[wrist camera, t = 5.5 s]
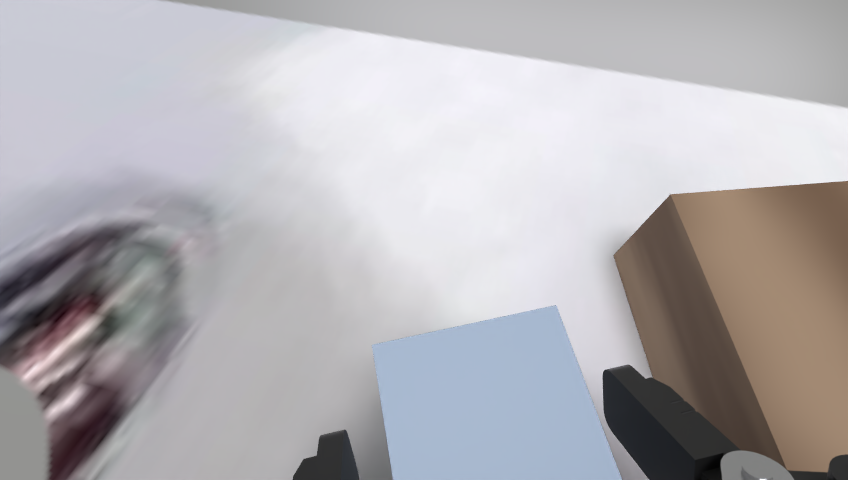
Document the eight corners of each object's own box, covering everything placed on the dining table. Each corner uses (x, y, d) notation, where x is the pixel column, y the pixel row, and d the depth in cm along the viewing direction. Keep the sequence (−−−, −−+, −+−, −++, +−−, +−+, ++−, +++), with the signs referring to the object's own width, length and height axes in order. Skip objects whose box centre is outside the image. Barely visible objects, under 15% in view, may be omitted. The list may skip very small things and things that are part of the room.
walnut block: (699, 531, 16) (829, 569, 11) (611, 257, 22) (670, 194, 17) (989, 502, 17) (1251, 525, 11) (831, 240, 22) (958, 172, 17)
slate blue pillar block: (418, 522, 16) (409, 586, 8) (396, 391, 19) (372, 344, 11) (539, 491, 17) (638, 524, 9) (502, 367, 19) (556, 305, 11)
